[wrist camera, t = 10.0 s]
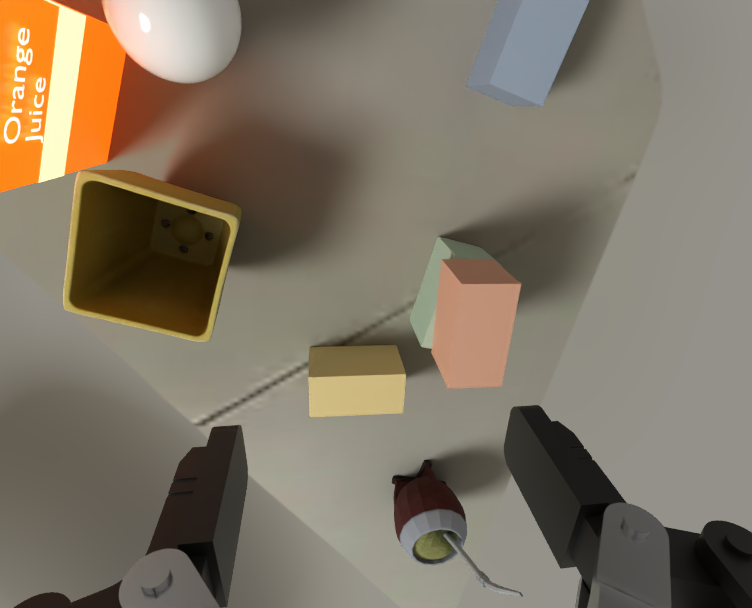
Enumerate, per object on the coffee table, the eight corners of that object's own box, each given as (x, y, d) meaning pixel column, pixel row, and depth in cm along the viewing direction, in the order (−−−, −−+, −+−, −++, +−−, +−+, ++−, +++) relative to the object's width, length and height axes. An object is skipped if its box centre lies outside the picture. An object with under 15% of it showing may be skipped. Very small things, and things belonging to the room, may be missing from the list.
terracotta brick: (441, 259, 32) (461, 284, 28) (493, 259, 33) (521, 283, 28) (431, 352, 36) (448, 388, 31) (478, 351, 36) (501, 386, 32)
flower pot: (136, 150, 31) (74, 167, 23) (258, 190, 34) (240, 218, 25) (120, 262, 34) (60, 310, 26) (232, 291, 37) (209, 345, 28)
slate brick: (512, -38, 30) (547, -64, 25) (561, -13, 31) (604, -33, 26) (465, 86, 32) (489, 83, 28) (511, 106, 33) (542, 106, 29)
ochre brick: (310, 383, 41) (309, 417, 37) (309, 346, 40) (308, 377, 35) (393, 380, 42) (402, 413, 38) (396, 344, 41) (406, 374, 36)
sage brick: (438, 236, 37) (455, 254, 32) (480, 247, 38) (503, 266, 33) (409, 319, 40) (421, 346, 35) (449, 327, 41) (466, 355, 36)
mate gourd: (379, 501, 49) (404, 653, 35) (400, 446, 46) (436, 589, 32) (441, 507, 50) (487, 655, 37) (465, 455, 48) (525, 595, 34)
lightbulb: (271, 75, 30) (250, 61, 21) (182, 98, 30) (118, 95, 20) (238, -35, 28) (195, -113, 18) (140, -11, 28) (43, -75, 18)
